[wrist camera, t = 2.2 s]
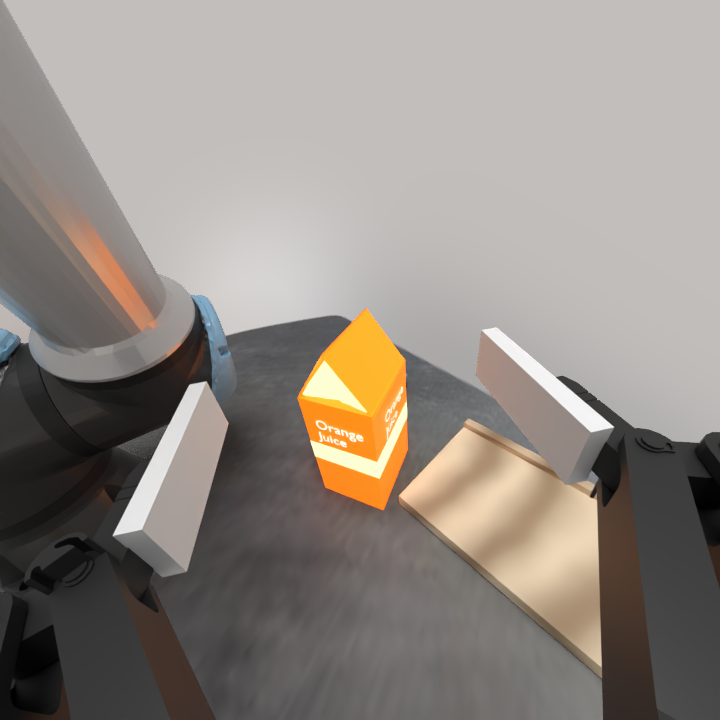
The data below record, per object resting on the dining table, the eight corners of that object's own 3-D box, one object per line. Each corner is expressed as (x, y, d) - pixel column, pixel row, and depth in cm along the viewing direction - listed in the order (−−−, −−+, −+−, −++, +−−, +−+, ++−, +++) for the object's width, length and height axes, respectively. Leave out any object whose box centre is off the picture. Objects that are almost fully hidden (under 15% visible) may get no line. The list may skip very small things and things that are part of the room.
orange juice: (408, 449, 39) (405, 310, 27) (384, 511, 33) (366, 364, 21) (355, 433, 42) (332, 302, 31) (323, 487, 36) (279, 348, 24)
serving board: (399, 503, 33) (398, 491, 32) (466, 430, 40) (468, 418, 39) (623, 697, 20) (638, 691, 19) (663, 539, 28) (676, 527, 26)
